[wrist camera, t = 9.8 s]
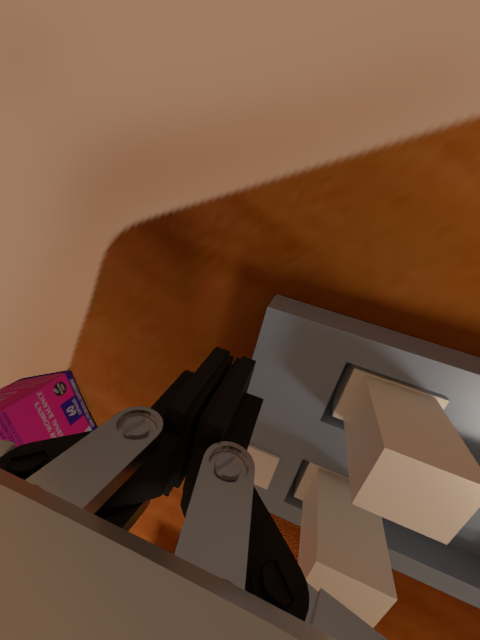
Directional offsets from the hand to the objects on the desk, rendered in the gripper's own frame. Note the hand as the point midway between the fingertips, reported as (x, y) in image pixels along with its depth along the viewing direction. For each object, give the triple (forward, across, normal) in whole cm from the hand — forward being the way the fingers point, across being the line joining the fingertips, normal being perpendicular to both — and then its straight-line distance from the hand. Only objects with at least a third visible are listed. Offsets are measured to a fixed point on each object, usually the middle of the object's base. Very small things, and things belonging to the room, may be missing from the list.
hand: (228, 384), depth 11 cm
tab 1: (+5, -7, +6) cm, 11 cm away
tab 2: (+5, -7, 0) cm, 9 cm away
